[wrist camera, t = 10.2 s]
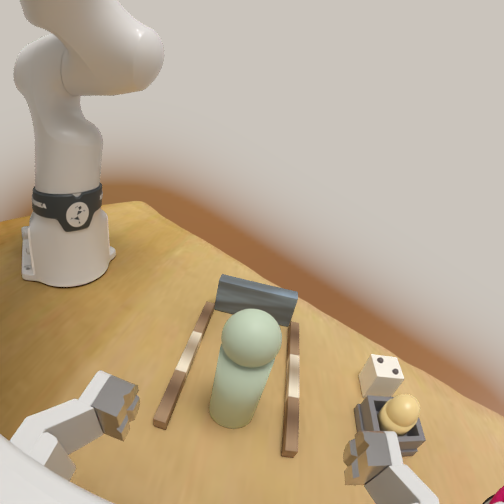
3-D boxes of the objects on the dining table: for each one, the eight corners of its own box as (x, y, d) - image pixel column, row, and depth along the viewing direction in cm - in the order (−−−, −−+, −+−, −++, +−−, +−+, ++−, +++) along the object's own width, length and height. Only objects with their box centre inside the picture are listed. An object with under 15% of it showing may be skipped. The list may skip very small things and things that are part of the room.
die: (362, 397, 31) (378, 373, 29) (358, 375, 35) (372, 351, 33) (389, 399, 31) (406, 376, 29) (383, 378, 35) (398, 355, 33)
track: (293, 457, 23) (311, 433, 21) (154, 425, 23) (151, 397, 21) (296, 320, 44) (305, 293, 42) (209, 300, 45) (214, 272, 43)
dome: (378, 438, 23) (399, 416, 22) (372, 407, 27) (390, 383, 26) (411, 438, 23) (433, 415, 21) (403, 409, 27) (422, 386, 26)
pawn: (198, 408, 26) (212, 310, 21) (229, 386, 30) (253, 290, 25) (233, 437, 24) (264, 345, 19) (263, 411, 28) (300, 318, 22)
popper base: (360, 457, 23) (374, 443, 22) (354, 408, 29) (365, 393, 28) (412, 455, 23) (427, 441, 22) (401, 411, 29) (413, 396, 28)
